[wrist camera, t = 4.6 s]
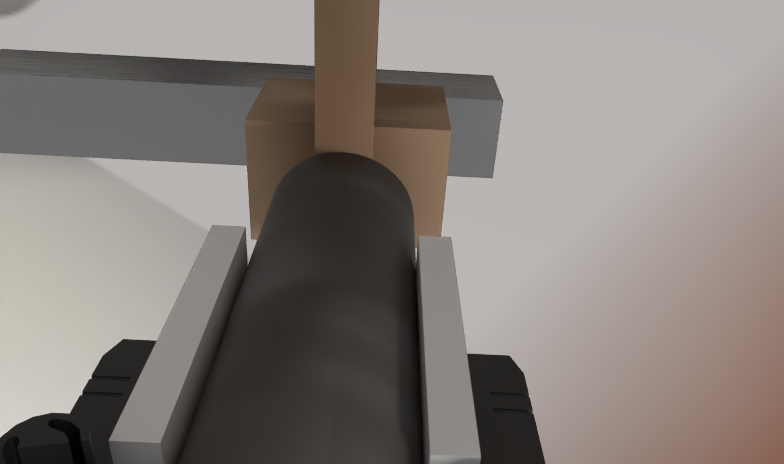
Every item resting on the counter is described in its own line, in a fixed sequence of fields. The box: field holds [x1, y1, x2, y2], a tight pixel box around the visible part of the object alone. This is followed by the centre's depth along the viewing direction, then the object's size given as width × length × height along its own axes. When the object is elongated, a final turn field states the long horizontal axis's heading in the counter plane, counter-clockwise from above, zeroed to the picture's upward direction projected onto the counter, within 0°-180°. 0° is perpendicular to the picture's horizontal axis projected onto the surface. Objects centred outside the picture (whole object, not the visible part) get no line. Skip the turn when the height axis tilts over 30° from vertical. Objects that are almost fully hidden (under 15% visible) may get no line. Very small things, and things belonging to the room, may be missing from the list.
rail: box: [0, 49, 503, 178], centre depth 26 cm, size 19×3×3 cm, turn 87°
